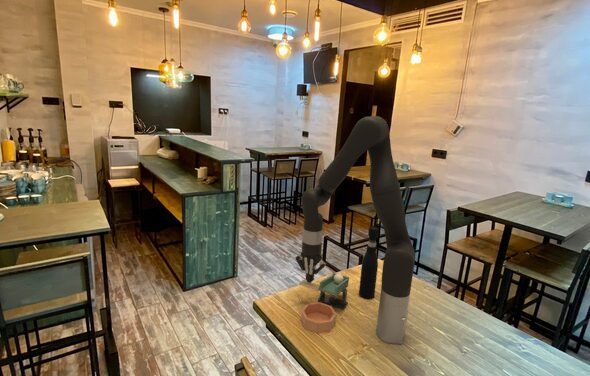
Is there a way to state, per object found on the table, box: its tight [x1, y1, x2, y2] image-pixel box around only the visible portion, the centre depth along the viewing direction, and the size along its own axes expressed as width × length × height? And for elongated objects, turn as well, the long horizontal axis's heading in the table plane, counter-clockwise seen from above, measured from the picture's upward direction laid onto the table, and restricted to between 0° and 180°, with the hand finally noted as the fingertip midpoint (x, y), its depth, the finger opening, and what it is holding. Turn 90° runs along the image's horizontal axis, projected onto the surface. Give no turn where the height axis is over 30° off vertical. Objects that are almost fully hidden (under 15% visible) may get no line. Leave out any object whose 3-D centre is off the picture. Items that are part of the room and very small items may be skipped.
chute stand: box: [317, 288, 349, 311], centre depth 126 cm, size 11×5×7 cm, turn 61°
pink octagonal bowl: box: [300, 301, 337, 335], centre depth 114 cm, size 12×12×4 cm
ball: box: [334, 273, 344, 284], centre depth 128 cm, size 4×4×4 cm
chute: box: [298, 272, 350, 297], centre depth 126 cm, size 15×15×6 cm
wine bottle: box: [358, 225, 380, 300], centre depth 129 cm, size 6×6×30 cm
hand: (309, 281), depth 123 cm, fingers closed
